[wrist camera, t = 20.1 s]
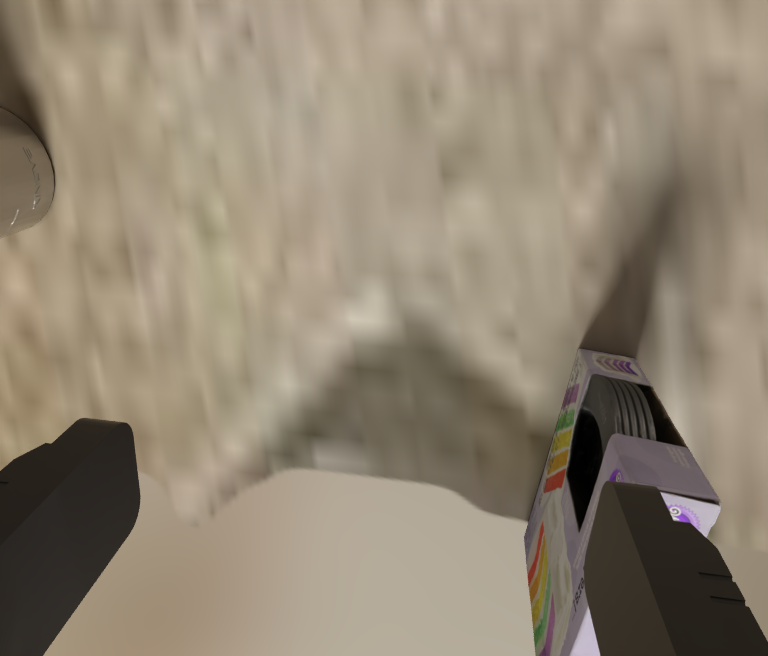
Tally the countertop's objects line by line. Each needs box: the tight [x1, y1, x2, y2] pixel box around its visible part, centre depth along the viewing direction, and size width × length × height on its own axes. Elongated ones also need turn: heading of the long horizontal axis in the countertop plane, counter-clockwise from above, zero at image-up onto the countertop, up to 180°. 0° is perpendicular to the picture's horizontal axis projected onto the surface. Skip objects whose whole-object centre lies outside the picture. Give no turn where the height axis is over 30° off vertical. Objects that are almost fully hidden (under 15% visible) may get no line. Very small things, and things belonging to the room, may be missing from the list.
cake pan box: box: [524, 348, 721, 656], centre depth 40 cm, size 19×5×18 cm, turn 172°
